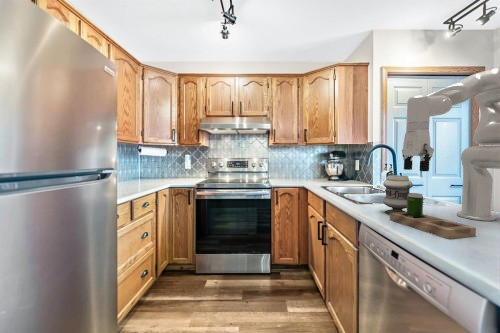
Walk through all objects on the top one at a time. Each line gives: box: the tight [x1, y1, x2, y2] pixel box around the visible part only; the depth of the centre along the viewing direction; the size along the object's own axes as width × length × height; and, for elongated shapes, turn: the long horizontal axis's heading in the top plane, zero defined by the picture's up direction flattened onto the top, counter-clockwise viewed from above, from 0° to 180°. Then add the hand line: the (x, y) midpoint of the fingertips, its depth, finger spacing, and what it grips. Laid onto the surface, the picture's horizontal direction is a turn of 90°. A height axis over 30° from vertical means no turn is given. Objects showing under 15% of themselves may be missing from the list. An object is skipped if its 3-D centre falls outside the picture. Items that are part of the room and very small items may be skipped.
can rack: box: [389, 211, 477, 240], centre depth 93 cm, size 24×12×3 cm, turn 14°
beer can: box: [406, 192, 424, 218], centre depth 98 cm, size 5×5×12 cm
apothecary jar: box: [382, 174, 414, 215], centre depth 114 cm, size 12×12×18 cm
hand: (415, 170), depth 97 cm, fingers open, 9 cm apart
